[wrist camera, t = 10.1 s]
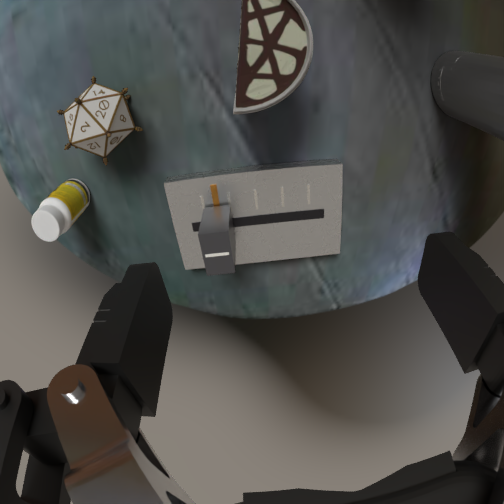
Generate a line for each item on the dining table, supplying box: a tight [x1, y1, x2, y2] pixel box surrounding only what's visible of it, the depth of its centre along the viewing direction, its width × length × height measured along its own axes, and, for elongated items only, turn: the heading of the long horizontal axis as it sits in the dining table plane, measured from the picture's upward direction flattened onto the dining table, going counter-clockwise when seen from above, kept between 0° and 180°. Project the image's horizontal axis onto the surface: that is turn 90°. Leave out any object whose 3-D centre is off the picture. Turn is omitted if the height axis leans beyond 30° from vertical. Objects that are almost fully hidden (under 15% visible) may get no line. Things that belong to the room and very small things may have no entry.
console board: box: [164, 159, 343, 270], centre depth 38 cm, size 20×12×2 cm, turn 96°
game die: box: [57, 76, 142, 166], centre depth 28 cm, size 9×8×10 cm
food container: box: [233, 0, 313, 114], centre depth 24 cm, size 12×6×10 cm, turn 176°
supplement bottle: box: [32, 179, 90, 242], centre depth 33 cm, size 5×5×8 cm
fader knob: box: [198, 205, 236, 276], centre depth 35 cm, size 3×5×6 cm, turn 6°
